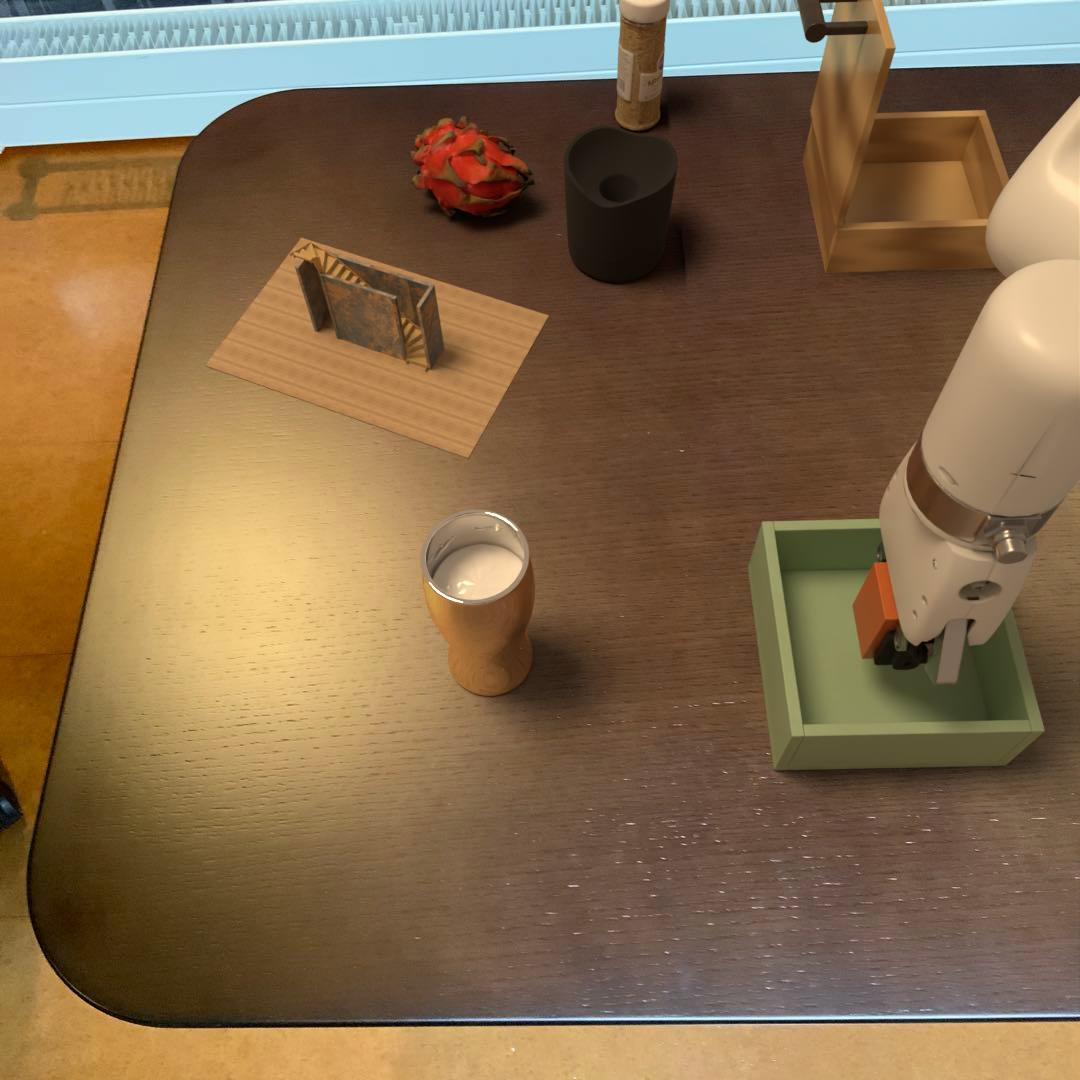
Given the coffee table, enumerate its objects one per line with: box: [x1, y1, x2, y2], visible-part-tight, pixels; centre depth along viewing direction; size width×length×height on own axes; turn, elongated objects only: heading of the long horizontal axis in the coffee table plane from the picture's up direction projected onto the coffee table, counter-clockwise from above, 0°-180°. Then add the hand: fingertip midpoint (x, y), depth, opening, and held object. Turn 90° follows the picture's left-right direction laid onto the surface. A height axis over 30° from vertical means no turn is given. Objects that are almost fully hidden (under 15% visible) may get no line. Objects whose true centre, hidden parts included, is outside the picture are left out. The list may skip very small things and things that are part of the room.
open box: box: [747, 518, 1046, 771], centre depth 72 cm, size 16×16×7 cm
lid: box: [796, 0, 897, 226], centre depth 84 cm, size 16×15×5 cm
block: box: [852, 562, 899, 659], centre depth 67 cm, size 4×4×6 cm
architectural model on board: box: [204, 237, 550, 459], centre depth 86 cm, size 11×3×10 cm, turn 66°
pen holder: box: [563, 125, 679, 283], centre depth 91 cm, size 9×9×10 cm
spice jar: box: [614, 0, 671, 132], centre depth 99 cm, size 5×5×14 cm
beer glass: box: [419, 508, 536, 697], centre depth 69 cm, size 7×7×15 cm
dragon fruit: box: [410, 115, 535, 218], centre depth 96 cm, size 8×8×12 cm
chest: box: [802, 109, 1010, 274], centre depth 94 cm, size 16×15×6 cm
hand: (891, 626), depth 69 cm, fingers closed on block, 4 cm apart
